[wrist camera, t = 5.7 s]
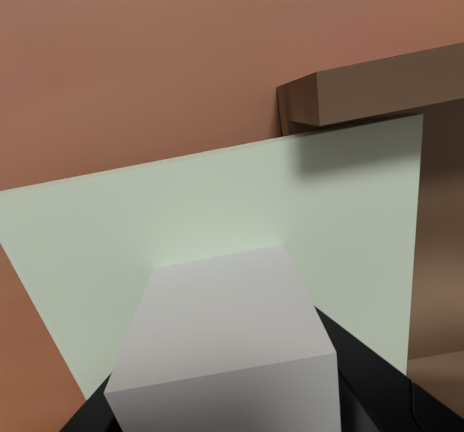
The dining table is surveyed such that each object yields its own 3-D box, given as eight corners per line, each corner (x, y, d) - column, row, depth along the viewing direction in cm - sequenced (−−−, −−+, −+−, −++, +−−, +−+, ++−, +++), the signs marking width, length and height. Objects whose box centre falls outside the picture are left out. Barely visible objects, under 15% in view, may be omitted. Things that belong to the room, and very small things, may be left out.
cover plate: (393, 365, 12) (503, 527, 7) (112, 413, 12) (48, 599, 7) (404, 113, 8) (644, 120, 3) (-2, 191, 8) (-264, 291, 4)
